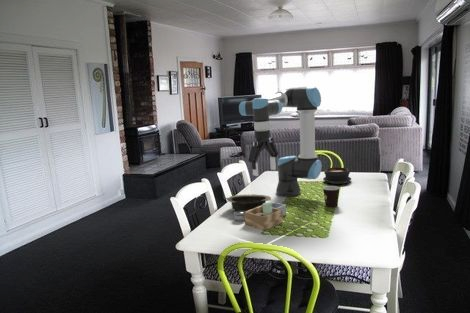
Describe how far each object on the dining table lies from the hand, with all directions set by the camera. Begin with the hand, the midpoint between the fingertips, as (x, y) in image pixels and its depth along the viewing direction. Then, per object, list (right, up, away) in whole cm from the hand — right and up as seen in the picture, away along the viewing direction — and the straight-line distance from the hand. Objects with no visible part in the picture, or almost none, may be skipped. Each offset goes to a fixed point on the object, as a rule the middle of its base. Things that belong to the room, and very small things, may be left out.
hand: (264, 172), depth 187 cm
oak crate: (-1, -25, -3) cm, 25 cm away
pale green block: (+1, -25, -5) cm, 25 cm away
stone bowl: (-7, -22, +22) cm, 31 cm away
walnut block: (-3, -24, -1) cm, 24 cm away
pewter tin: (-12, -25, +4) cm, 28 cm away
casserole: (+55, -9, +70) cm, 89 cm away
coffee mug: (+38, -19, +21) cm, 48 cm away
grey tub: (+6, -23, +8) cm, 25 cm away
